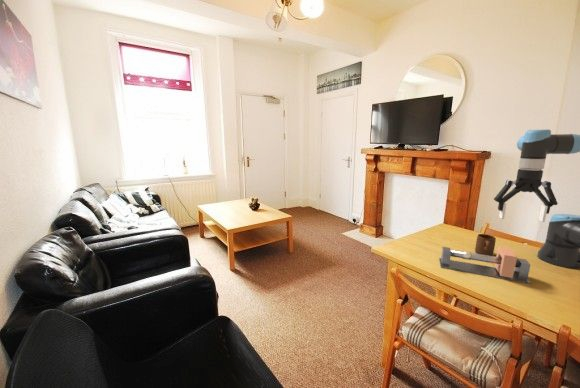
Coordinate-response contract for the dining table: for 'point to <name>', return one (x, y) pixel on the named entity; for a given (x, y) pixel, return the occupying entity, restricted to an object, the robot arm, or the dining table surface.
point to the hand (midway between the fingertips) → (521, 219)
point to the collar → (506, 262)
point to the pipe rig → (445, 262)
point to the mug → (485, 244)
